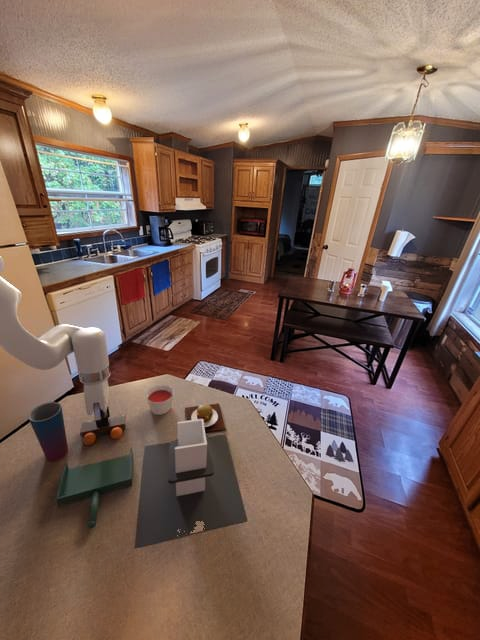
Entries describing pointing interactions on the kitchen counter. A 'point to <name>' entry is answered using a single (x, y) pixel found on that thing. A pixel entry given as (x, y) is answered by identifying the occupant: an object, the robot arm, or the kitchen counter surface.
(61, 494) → the dustpan
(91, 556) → the kitchen counter surface
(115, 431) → the crumb
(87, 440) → the crumb
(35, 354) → the robot arm
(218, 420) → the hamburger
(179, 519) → the candle holder
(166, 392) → the candle
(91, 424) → the brush
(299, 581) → the kitchen counter surface
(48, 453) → the cup
